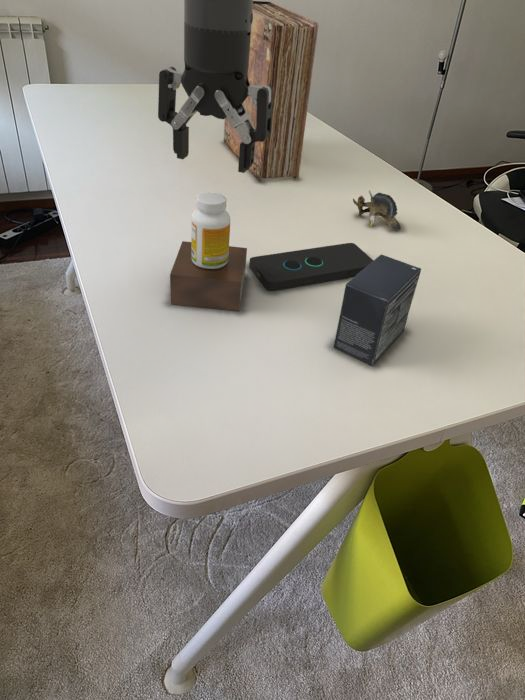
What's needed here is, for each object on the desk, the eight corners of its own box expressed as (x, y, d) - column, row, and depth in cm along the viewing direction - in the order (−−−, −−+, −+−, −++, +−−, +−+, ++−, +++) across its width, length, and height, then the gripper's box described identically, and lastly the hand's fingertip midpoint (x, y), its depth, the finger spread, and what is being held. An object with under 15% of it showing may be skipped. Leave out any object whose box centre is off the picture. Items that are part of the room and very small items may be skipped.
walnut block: (170, 304, 80) (169, 274, 77) (182, 269, 88) (182, 240, 84) (239, 311, 80) (241, 282, 77) (244, 275, 88) (247, 247, 84)
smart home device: (248, 256, 89) (352, 241, 96) (247, 265, 90) (350, 249, 97) (269, 282, 83) (379, 264, 91) (268, 292, 84) (376, 273, 92)
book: (298, 180, 121) (319, 23, 102) (259, 182, 118) (273, 21, 99) (258, 140, 139) (269, 1, 120) (223, 142, 136) (229, -1, 117)
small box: (365, 313, 82) (380, 251, 76) (405, 331, 79) (424, 268, 73) (330, 347, 75) (343, 281, 69) (372, 367, 72) (391, 301, 66)
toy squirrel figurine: (347, 220, 104) (393, 225, 100) (355, 182, 104) (402, 186, 100) (359, 229, 111) (403, 234, 107) (367, 193, 110) (411, 198, 106)
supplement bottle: (235, 259, 81) (239, 197, 75) (213, 274, 78) (216, 210, 72) (206, 248, 83) (207, 186, 77) (183, 261, 80) (183, 198, 74)
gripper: (144, 15, 60) (149, 162, 70) (268, 35, 57) (255, 185, 67) (174, 8, 66) (175, 145, 76) (288, 26, 63) (273, 165, 73)
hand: (212, 164), depth 72 cm, fingers open, 8 cm apart
